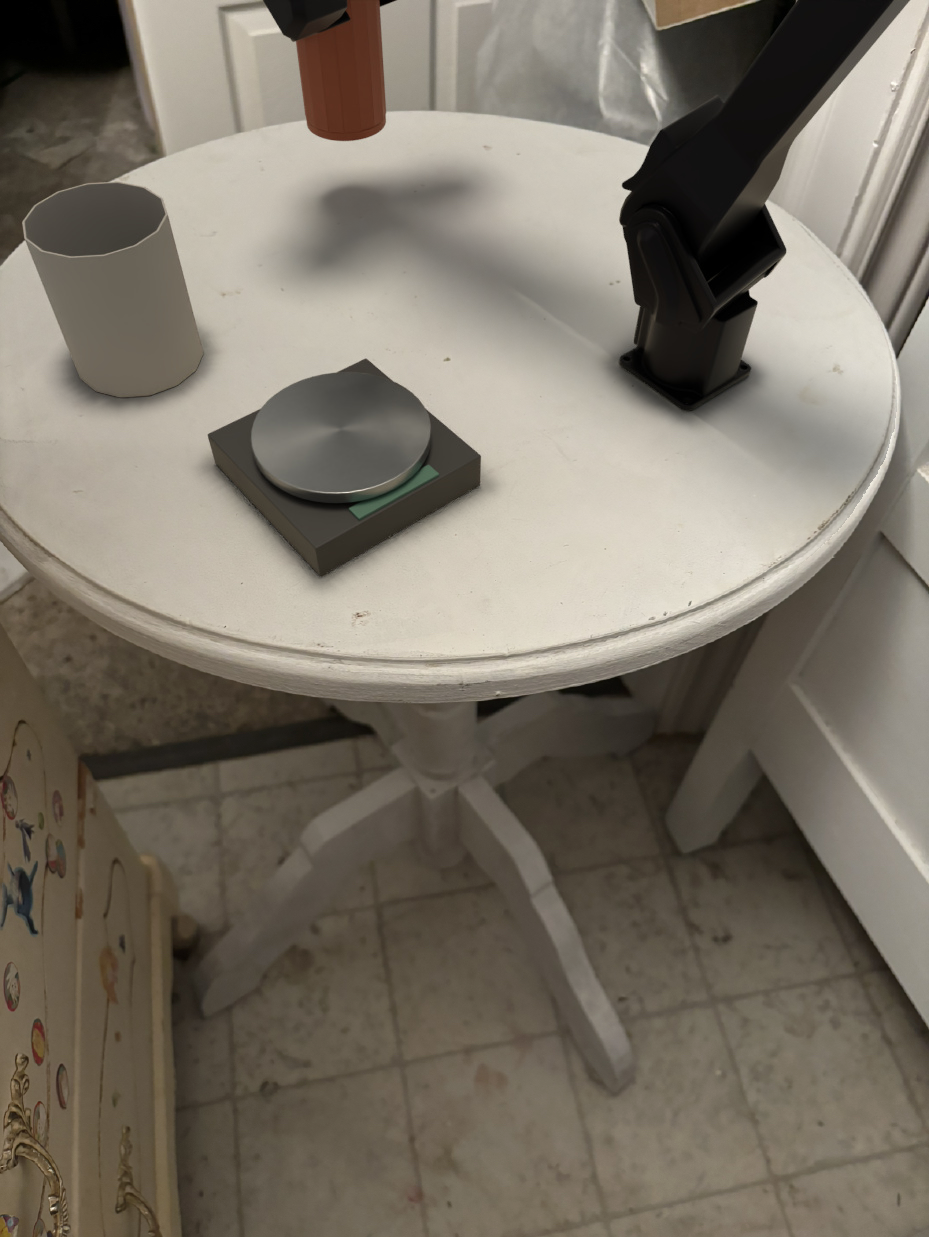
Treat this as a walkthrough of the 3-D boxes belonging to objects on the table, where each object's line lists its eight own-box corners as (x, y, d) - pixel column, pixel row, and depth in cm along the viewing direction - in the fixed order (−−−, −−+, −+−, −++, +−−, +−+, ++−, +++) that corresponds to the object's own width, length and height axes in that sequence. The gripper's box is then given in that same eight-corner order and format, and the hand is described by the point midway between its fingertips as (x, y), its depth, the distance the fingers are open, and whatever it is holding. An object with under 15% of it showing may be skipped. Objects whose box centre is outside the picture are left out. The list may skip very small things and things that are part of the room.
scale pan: (467, 449, 54) (467, 438, 53) (317, 532, 50) (315, 521, 49) (363, 360, 59) (362, 350, 58) (219, 429, 55) (216, 419, 54)
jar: (401, 116, 71) (391, -80, 61) (356, 149, 68) (338, -53, 58) (337, 97, 73) (318, -96, 63) (290, 128, 70) (262, -70, 60)
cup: (52, 380, 62) (-8, 241, 54) (118, 310, 66) (72, 172, 58) (165, 408, 60) (120, 269, 52) (224, 334, 65) (192, 196, 57)
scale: (480, 485, 56) (481, 452, 54) (320, 577, 52) (314, 546, 50) (368, 387, 62) (365, 354, 59) (215, 463, 57) (205, 431, 55)
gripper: (470, -320, 55) (355, -126, 68) (220, -271, 46) (145, -60, 59) (563, -126, 58) (436, 23, 71) (345, -46, 49) (248, 107, 63)
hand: (324, 20), depth 66 cm, fingers closed on jar, 6 cm apart
